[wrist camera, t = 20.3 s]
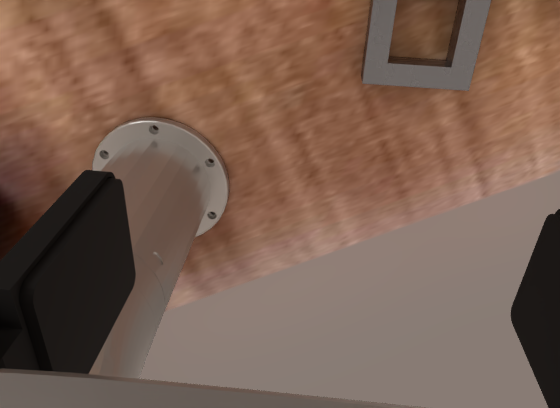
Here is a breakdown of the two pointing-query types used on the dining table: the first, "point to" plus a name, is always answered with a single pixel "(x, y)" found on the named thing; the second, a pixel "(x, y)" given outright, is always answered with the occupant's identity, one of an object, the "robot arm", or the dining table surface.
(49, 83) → the dining table surface
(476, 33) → the socket block
